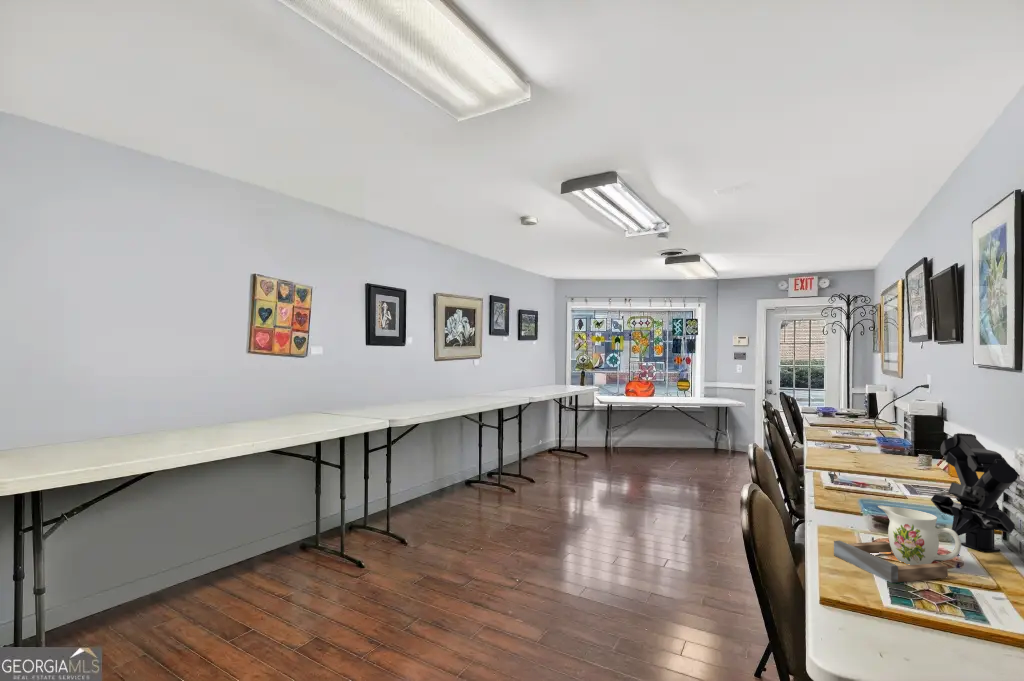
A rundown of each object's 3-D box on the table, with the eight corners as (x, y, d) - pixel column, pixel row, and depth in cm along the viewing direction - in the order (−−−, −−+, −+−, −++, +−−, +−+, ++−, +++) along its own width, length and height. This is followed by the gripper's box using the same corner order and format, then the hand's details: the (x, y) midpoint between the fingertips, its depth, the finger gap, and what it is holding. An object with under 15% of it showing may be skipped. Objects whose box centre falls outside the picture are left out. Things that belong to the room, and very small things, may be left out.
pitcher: (958, 580, 134) (958, 524, 134) (873, 559, 147) (873, 509, 147) (963, 568, 142) (962, 515, 142) (881, 549, 154) (881, 502, 155)
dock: (885, 551, 153) (885, 537, 153) (947, 577, 135) (947, 562, 135) (833, 555, 150) (833, 540, 150) (891, 582, 132) (891, 566, 132)
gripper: (935, 466, 157) (904, 505, 155) (1006, 481, 139) (972, 526, 136) (957, 492, 159) (927, 531, 156) (1030, 510, 140) (996, 555, 138)
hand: (953, 535), depth 147 cm, fingers closed
